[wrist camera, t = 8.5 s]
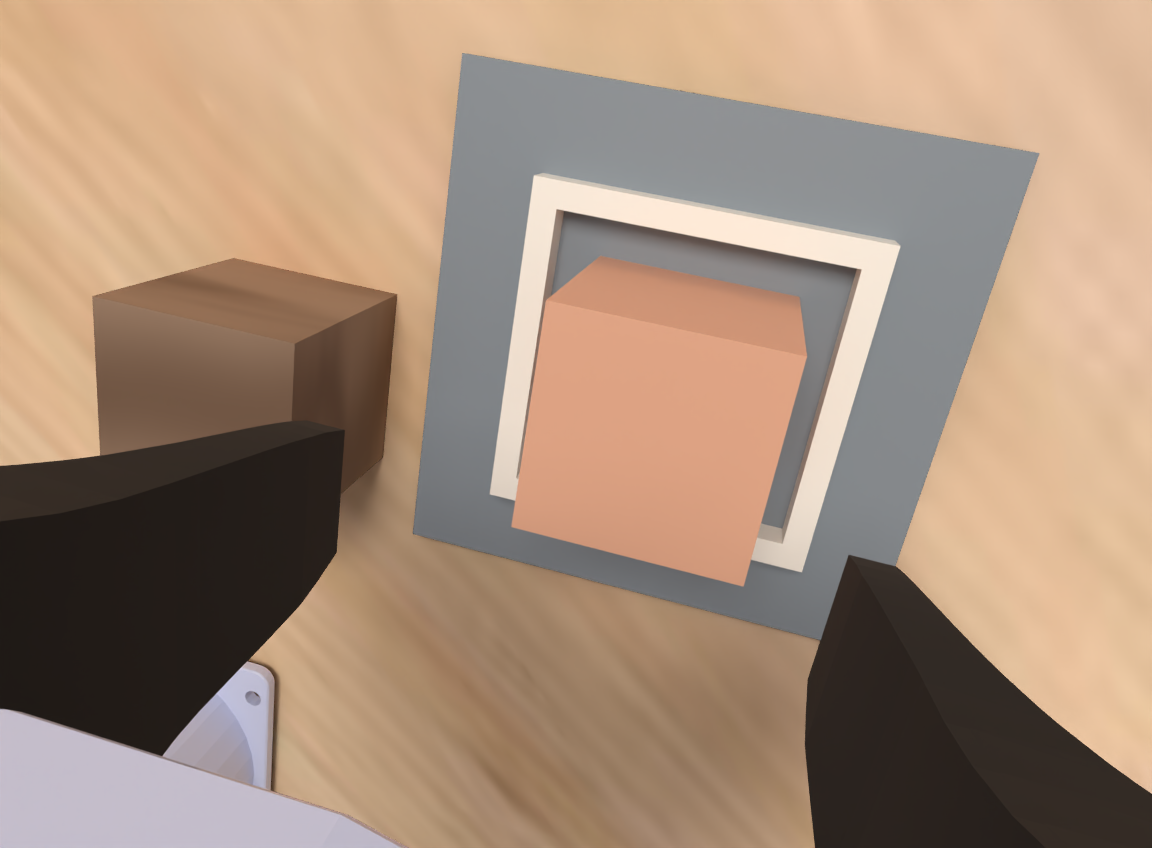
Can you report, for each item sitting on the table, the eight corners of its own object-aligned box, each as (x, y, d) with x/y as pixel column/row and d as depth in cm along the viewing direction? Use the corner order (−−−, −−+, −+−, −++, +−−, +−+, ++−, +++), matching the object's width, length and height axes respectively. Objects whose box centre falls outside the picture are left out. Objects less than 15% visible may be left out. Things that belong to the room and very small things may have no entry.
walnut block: (383, 455, 23) (286, 541, 18) (232, 418, 24) (101, 491, 19) (397, 293, 21) (294, 343, 17) (234, 258, 22) (92, 295, 17)
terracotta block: (750, 480, 20) (743, 586, 16) (569, 436, 21) (511, 527, 16) (799, 296, 19) (807, 356, 14) (600, 256, 19) (545, 300, 15)
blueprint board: (863, 640, 22) (868, 671, 21) (420, 525, 23) (400, 547, 22) (1032, 152, 17) (1051, 155, 16) (470, 54, 19) (449, 50, 18)
